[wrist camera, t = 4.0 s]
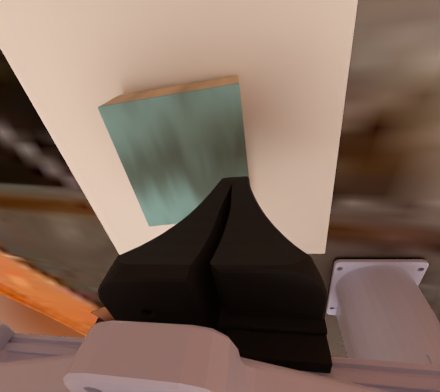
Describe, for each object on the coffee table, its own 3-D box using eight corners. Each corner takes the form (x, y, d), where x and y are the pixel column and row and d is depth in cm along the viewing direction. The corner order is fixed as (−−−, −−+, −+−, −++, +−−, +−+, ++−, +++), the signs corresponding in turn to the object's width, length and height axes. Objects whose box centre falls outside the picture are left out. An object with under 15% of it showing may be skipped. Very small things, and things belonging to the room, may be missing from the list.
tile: (252, 215, 17) (149, 226, 18) (250, 193, 20) (158, 203, 21) (239, 83, 12) (97, 107, 13) (237, 75, 15) (117, 95, 16)
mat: (324, 250, 23) (324, 253, 23) (121, 252, 28) (119, 254, 27) (374, -151, 10) (378, -157, 9) (-36, -25, 14) (-43, -26, 14)
